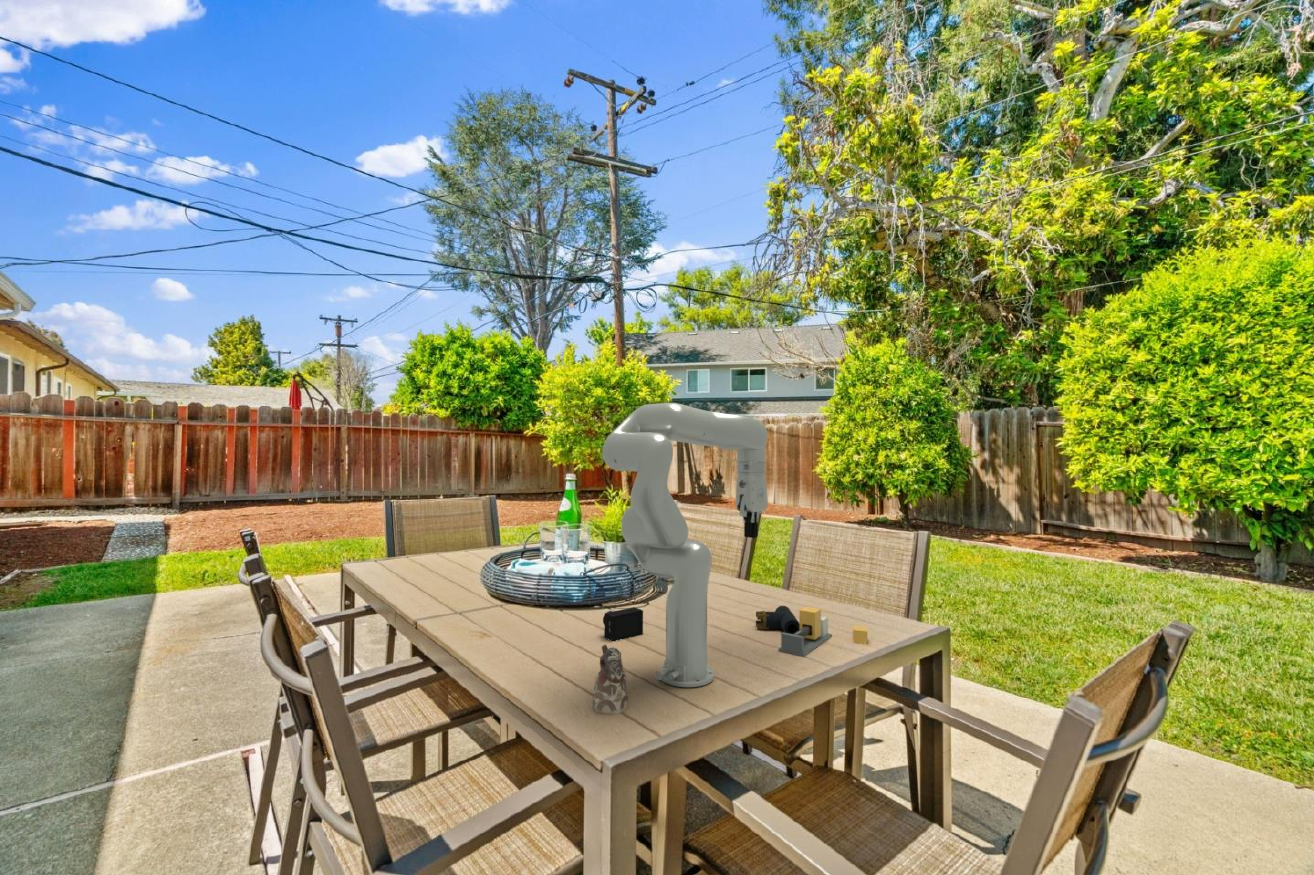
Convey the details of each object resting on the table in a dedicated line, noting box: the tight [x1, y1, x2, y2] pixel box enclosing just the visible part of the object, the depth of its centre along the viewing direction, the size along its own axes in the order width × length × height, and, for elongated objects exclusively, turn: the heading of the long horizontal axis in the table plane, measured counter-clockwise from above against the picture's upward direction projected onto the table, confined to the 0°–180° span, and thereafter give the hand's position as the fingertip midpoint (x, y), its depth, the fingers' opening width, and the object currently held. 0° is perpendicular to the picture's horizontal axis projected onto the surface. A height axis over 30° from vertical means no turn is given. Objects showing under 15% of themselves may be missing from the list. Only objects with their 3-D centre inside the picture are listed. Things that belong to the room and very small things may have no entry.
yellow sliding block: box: [798, 606, 822, 640], centre depth 160 cm, size 4×4×7 cm
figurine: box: [592, 644, 630, 715], centre depth 119 cm, size 7×7×12 cm
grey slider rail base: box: [778, 615, 833, 658], centre depth 158 cm, size 20×7×5 cm, turn 143°
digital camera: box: [602, 606, 644, 642], centre depth 164 cm, size 10×5×7 cm, turn 127°
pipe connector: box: [755, 605, 800, 634], centre depth 171 cm, size 12×5×15 cm
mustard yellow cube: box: [852, 625, 868, 644], centre depth 160 cm, size 4×4×4 cm
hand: (751, 536), depth 156 cm, fingers closed
